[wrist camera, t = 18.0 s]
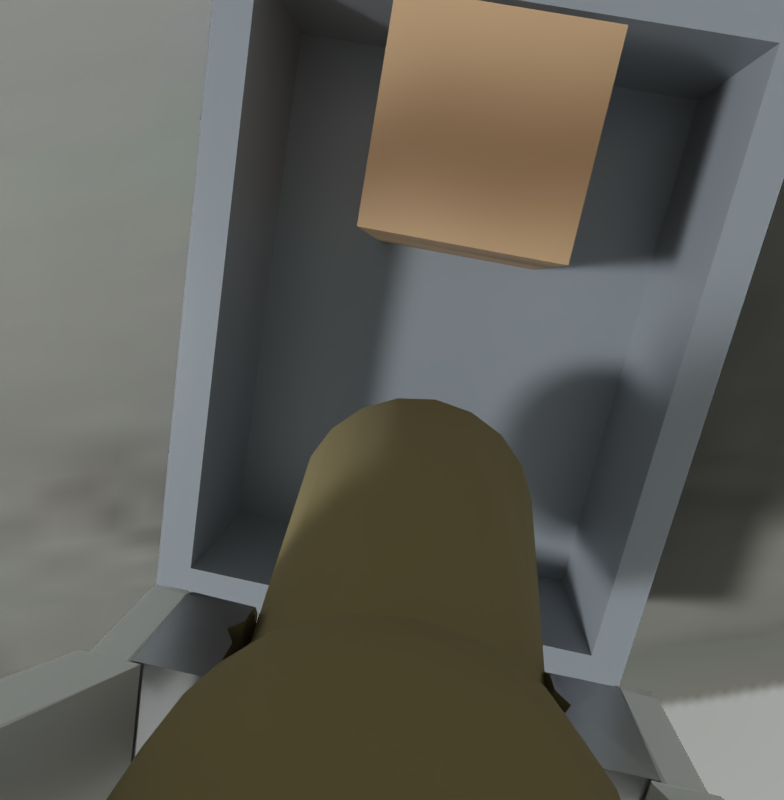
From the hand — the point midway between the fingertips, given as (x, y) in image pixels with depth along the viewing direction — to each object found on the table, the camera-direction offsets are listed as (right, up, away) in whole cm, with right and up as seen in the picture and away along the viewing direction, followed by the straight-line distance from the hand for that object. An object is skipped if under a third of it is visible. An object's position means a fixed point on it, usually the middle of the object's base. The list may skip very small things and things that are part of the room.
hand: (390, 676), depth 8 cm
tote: (+2, +7, +11) cm, 13 cm away
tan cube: (+3, +11, +9) cm, 15 cm away
